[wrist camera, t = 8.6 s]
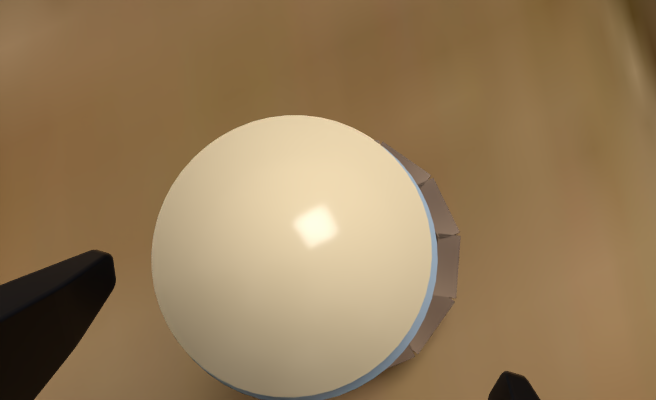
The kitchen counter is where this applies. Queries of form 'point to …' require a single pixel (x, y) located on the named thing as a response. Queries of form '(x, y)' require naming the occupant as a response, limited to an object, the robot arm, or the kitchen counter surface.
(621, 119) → the kitchen counter surface
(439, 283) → the walnut tray
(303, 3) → the kitchen counter surface
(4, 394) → the robot arm
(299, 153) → the bead jar
